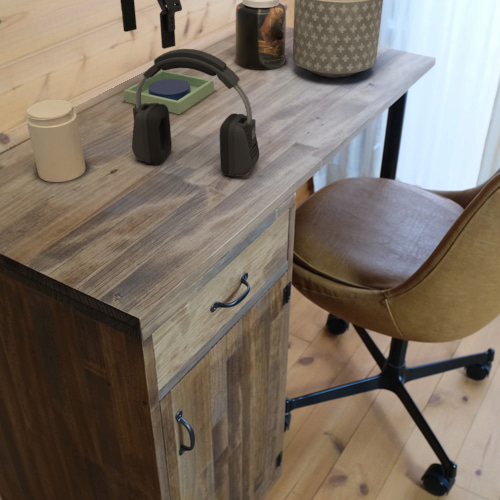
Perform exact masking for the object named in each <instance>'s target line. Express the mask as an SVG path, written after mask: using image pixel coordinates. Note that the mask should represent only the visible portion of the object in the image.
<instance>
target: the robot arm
mask: <svg viewBox="0 0 500 500" xmlns="http://www.w3.org/2000/svg"><path fill="white" fill-rule="evenodd" d="M156 1H157V4H158V6H159V8H160V10H161V11H160V12H159V25H160V26H159V27H160V39H161V41H160V42H161V48H162V49H165V50H166V49H169V48H173V47H176V31H175V30H176V16H175V15H176V13H178V12H181V11H182V10H183V5H182V3H181V0H156ZM120 9H121V18H122V28H123V32H125V33H127V32H131V31H135V30H137V29H138V28H137V27H138V26H137V16H136V5H135V0H120Z"/></svg>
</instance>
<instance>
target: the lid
mask: <svg viewBox="0 0 500 500" xmlns="http://www.w3.org/2000/svg"><path fill="white" fill-rule="evenodd" d="M190 92H191V89H190V84H189V83H188V82H186V81H183V80H179V79H164V80H159V81H156V82H153V83H152V84H150V85H149V94H150V95H154V96H158V97H163V98H167V99H172V100H176V101H178V100H179V99H181V98H183V97H184V96H186V95H187V94H189V93H190Z"/></svg>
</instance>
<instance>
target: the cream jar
mask: <svg viewBox="0 0 500 500" xmlns="http://www.w3.org/2000/svg"><path fill="white" fill-rule="evenodd" d="M26 116H27V117H26V121H25V122H26V126H27V129H28V135H29V139H30V144H31V148H32V152H33V157H34V161H35V166H36V170H37V174H38V177H39V178H40V179H41V180H43V181H46V182H50V183H62V182H68V181H72V180H73V181H74V180H75V179H78V178H79V177H81V176H82V175H83V174H85V172H86V169H87V167H86V161H85V155H84V150H83V144H82V137H81V131H80V126H79V121H78V114H77V112H76V111H75V110H74V106H73V104H72V103H71V102H69V100H64V99H46V100H41V101H37V102H35V103H33V104H31V105H30V106H28V107H27V109H26Z"/></svg>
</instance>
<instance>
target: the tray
mask: <svg viewBox="0 0 500 500" xmlns="http://www.w3.org/2000/svg"><path fill="white" fill-rule="evenodd" d="M164 79H179V80H183V81H186V82H188V83H189V84H190V89H191V92H190V93H189V94H187V95H186V96H184V97H183V98H181V99H179V100H178V101H176V100H172V99H167V98H163V97H158V96H154V95H150V94H149V85H150V84H152V83H153V82H156V81H159V80H164ZM214 81H215V80H213V79H209V78H203V77H199V76H194V75H189V74H184V73H179V72H176V71H175V72H174V71H170V70H165V71H164V70H162V69H161V70H160V71H159V72H158V73H157V74H155V75H154V76H153V77H151V78H148V79H146V81H145V83H144V85H143V87H142V92H141V104H142V105H143V104H144V103H147V104H150V103H159V104H164V105H166V106H167V108H168V110H169V113H172V114H176V115H180V114H183V113H184V112H185V111H187V110H189V109H190V108H191V107H193V106H194V105H196V104H197V103H199V102H201V101H202V100H203V99H204V98H206V97H208V96H209V95H212V93H214V92H215V83H214ZM139 83H140V81H138V82H137V83H135V84H133V85H131V86H129V87H127V88H126V89H124V90H123V93H124V103H130V104H134V105H136V91H137V87H138V85H139ZM138 103H139V102H138Z"/></svg>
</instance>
